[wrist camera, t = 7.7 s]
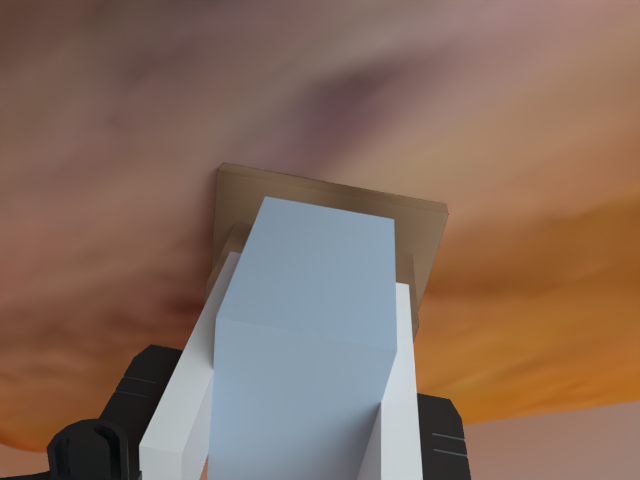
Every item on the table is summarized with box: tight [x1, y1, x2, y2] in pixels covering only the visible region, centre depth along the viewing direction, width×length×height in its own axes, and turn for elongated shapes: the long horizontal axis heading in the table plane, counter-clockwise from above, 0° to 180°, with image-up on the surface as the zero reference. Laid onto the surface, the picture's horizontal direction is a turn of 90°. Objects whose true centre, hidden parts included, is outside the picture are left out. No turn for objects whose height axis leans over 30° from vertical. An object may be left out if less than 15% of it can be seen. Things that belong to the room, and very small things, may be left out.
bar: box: [207, 196, 397, 480], centre depth 16 cm, size 4×14×5 cm, turn 171°
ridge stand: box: [204, 163, 449, 343], centre depth 23 cm, size 10×7×6 cm
